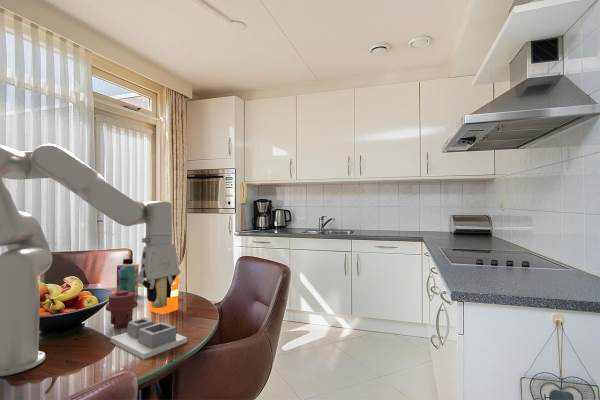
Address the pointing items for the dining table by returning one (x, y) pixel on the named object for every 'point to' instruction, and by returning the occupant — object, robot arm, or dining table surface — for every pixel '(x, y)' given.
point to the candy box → (135, 276)
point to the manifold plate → (148, 338)
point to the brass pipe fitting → (160, 293)
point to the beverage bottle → (127, 277)
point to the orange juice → (168, 300)
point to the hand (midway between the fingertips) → (159, 298)
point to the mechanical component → (121, 308)
